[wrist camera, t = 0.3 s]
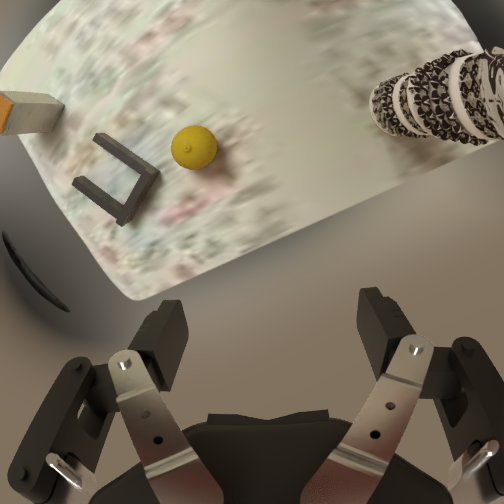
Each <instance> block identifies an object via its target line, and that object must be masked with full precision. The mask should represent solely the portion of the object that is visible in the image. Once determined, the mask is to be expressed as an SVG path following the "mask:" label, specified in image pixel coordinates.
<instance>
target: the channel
mask: <svg viewBox="0 0 504 504" xmlns="http://www.w3.org/2000/svg"><path fill="white" fill-rule="evenodd" d="M93 141H94V142H95V143H97V144H98V145H100V146H101V147H103V148H104V149H105V150H107V151H108V152H110V153H111V154H112V155H114V156H115V157H117V158H118V159H120V160H121V161H122V162H124V163H125V164H127V165H128V166H129V167H131V168H132V169H134V170H135V171H137V172H138V173H139V174H141V176H140V178H139V180H138V181H137V183H136V185H135V187H134V188H133V190H132V192H131V194H130V196H129V197H128V199H127V201H126V203H125V205H124V206H123V205H122V204H121V203H119V202H118V201H116V200H115V199H114V198H112V197H111V196H110V195H108V194H107V193H106V192H104V191H103V190H102V189H100V188H99V187H98V186H96V185H95V184H94V183H92V182H91V181H90V180H88V179H87V178H86V177H84V176H80V177H76V178H74V180H73V183H72V185H73V186H74V187H75V188H77V189H78V190H79V191H80V192H82V193H83V194H84V195H86V196H87V197H88V198H89V199H91V200H92V201H93V202H95V203H96V204H97V205H99V206H100V207H101V208H103V209H104V210H105V211H107V212H108V213H109V214H111V215H112V216H113V217H115V218H116V219H117V220H116V223H117V224H118V225H120V226H121V227H123V226H124V225H125V224H127V223H128V222H130V221H131V220H132V219H133V217H134V215H135V213H136V211H137V210H138V208H139V206H140V204H141V202H142V201H143V199H144V197H145V196H146V194H147V192H148V190H149V189H150V187H151V185H152V184H153V182H154V180H155V179H156V177H157V176H158V174H159V172H160V171H159V170H158V169H156V168H155V167H153V166H152V165H150V164H149V163H147V162H146V161H145V160H143V159H142V158H140V157H139V156H137V155H136V154H134V153H133V152H132V151H130V150H129V149H127V148H126V147H124V146H123V145H121V144H120V143H118V142H117V141H115V140H114V139H113V138H111V137H110V136H108V135H107V134H105V133H96V134H95V136H94V138H93Z"/></svg>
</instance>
